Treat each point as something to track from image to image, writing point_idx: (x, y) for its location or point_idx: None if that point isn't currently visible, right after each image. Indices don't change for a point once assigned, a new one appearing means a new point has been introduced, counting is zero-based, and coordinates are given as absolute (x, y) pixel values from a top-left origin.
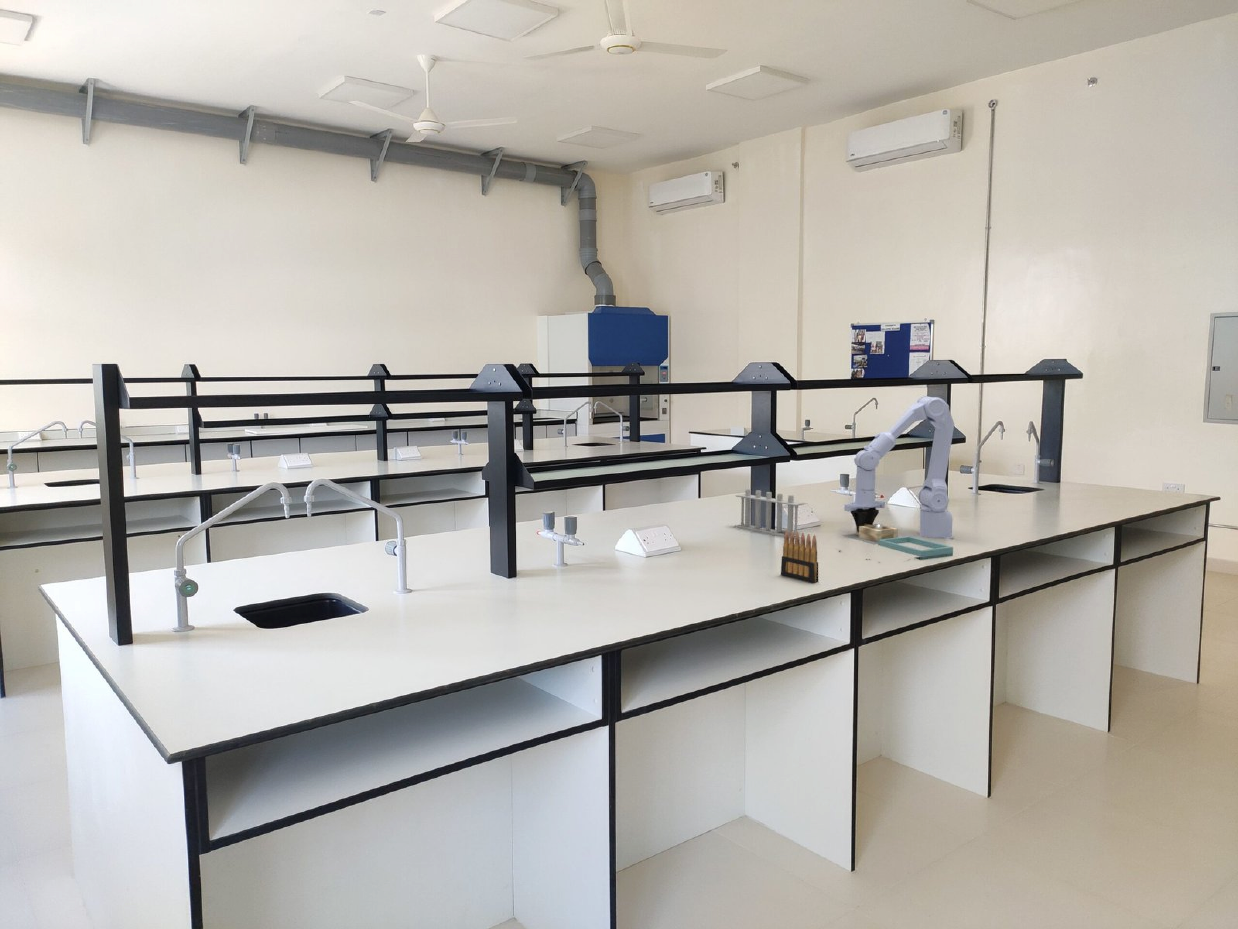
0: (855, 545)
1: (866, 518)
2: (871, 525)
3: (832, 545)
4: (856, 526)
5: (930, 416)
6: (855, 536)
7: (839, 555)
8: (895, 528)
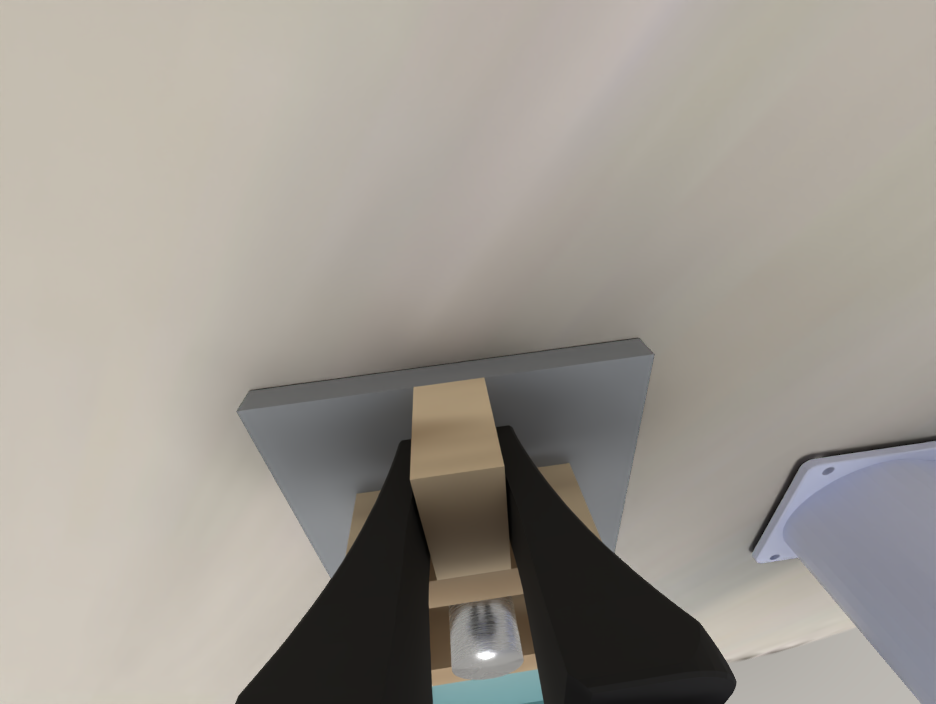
0: (269, 555)
1: (526, 578)
2: (490, 581)
3: (87, 537)
4: (384, 486)
5: None
6: (351, 459)
7: (89, 672)
8: None
